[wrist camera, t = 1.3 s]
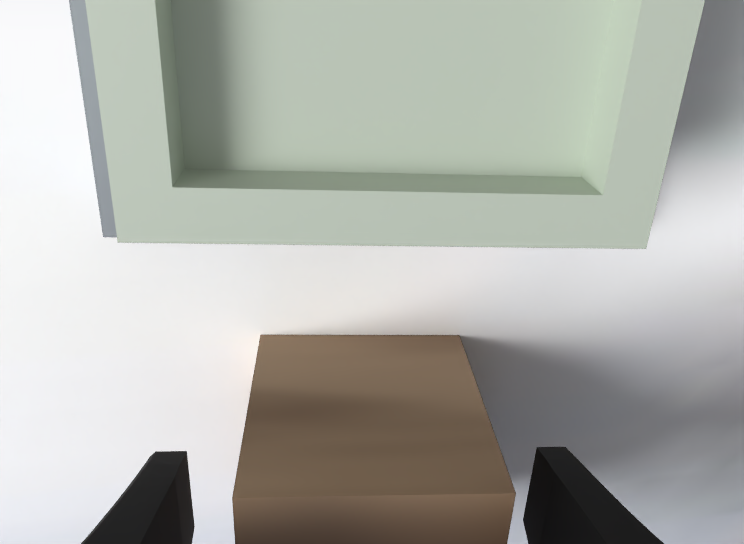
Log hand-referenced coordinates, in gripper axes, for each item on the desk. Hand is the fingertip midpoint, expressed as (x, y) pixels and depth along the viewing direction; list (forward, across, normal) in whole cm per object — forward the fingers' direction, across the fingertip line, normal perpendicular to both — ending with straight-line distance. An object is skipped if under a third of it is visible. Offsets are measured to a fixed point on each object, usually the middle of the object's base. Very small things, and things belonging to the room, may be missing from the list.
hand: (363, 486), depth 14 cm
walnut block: (+2, 0, 0) cm, 3 cm away
